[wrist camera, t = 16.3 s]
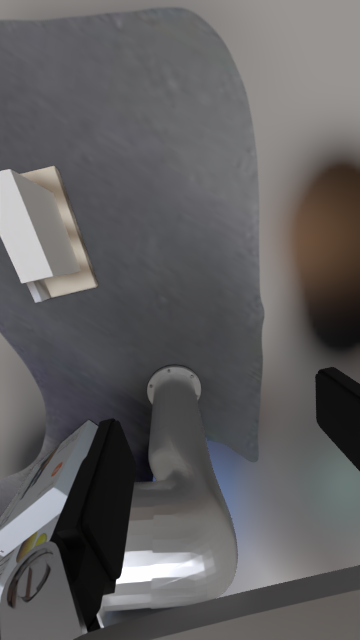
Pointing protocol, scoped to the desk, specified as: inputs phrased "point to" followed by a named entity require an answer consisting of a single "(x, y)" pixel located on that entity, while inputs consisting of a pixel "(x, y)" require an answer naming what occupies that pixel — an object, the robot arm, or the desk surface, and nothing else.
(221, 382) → the desk surface
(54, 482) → the skincare box
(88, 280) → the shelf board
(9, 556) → the supplement box
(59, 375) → the desk surface
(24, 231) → the carton
